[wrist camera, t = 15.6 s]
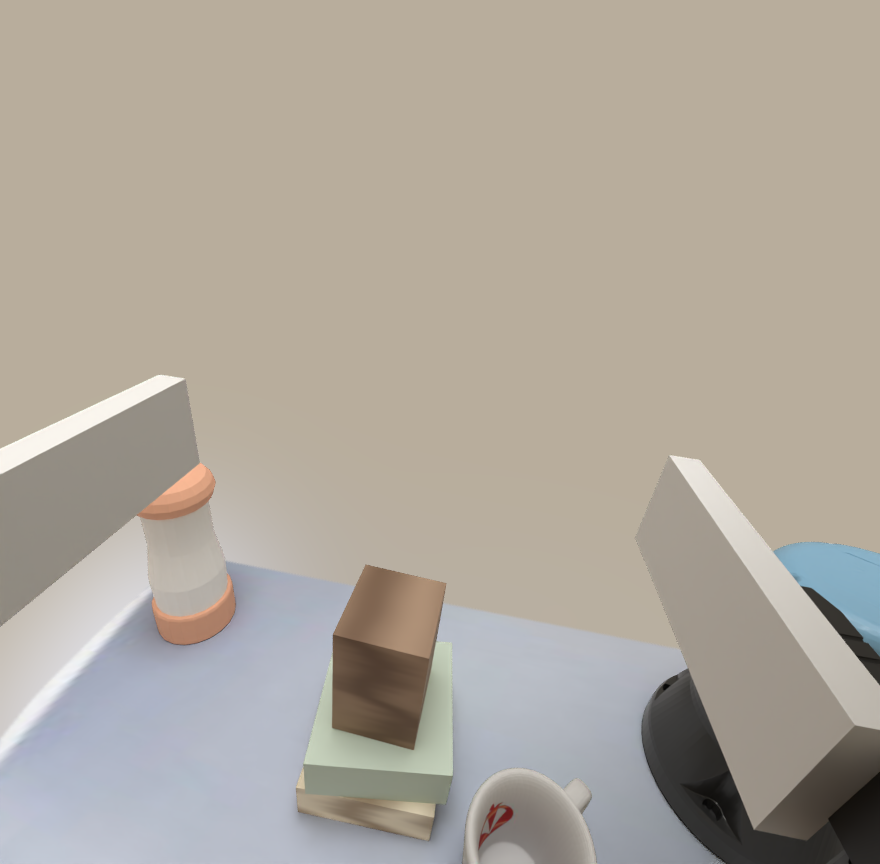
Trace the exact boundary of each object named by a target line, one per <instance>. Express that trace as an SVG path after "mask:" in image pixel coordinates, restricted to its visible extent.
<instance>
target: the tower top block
mask: <svg viewBox="0 0 880 864" xmlns="http://www.w3.org/2000/svg"><path fill="white" fill-rule="evenodd" d="M332 674H333V653H332V656H331V660H330V664H329V668H328V672H327V676H326V679H325V683H324V687H323V691H322V695H321V698H320V702H319V706H318V710H317V714H316V717H315V721H314V725H313V729H312V733H311V737H310V740H309V744H308V748H307V752H306V756H305V759H304V763H303V767H304V782H305V794H315V795H328V796H341V797H354V798H367V799H380V800H393V801H405V802H418V803H431V804H443V805H446V802H447V798H448V794H449V790H450V785H451V781H452V777H453V725H452V643H448V642H437V641H436V645H435V651H434V656H433V662H432V667H431V673H430V677H429V682H428V687H427V691H426V696H425V700H424V705H423V710H422V714H421V719H420V724H419V728H418V733H417V738H416V742H415V747H414V750H410V749H407V748H403V747H399V746H396V745H392V744H388V743H385V742H381V741H378V740H374V739H370V738H367V737H363V736H360V735H356V734H352V733H349V732H345V731H341V730H338V729H334V728H332Z"/></svg>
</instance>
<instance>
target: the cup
mask: <svg viewBox="0 0 880 864" xmlns="http://www.w3.org/2000/svg"><path fill="white" fill-rule="evenodd" d="M591 798H592V794H591V791H590V790H589V788H588V787H587V786H586V785H585V783H584V782H583V781H582V780H580V779H578V778H576V779H574V780H572V781H571V782H570V783H569V784H568V785H567V786H566V787H565V788H564V789H562V788H561V787H560V786H559V785H558V784H556V783H555V782H554V781H553V780H551V779H550V778H548V777H546V776H545V775H543V774H541V773H538V772H536V771H533V770H529V769H525V768H510V769H505V770H502V771H499V772H497V773H495V774H494V775H492V776H491V777H489V778H488V779H487V780H486V781H485V782H484V783H483V784H482V785H481V786H480V788H479V789H478V790H477V792H476V794H475V796H474V797H473V800H472V802H471V804H470V807H469V810H468V814H467V819H466V825H465V836H464V848H463V861H462V864H597V861H596V854H595V849H594V845H593V841H592V838H591V835H590V832H589V829H588V827H587V824H586V822H585V820H584V818H583V816H582V813H583V812H584V810H585V809H586V807H587V806H588V804H589V802H590V800H591Z"/></svg>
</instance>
